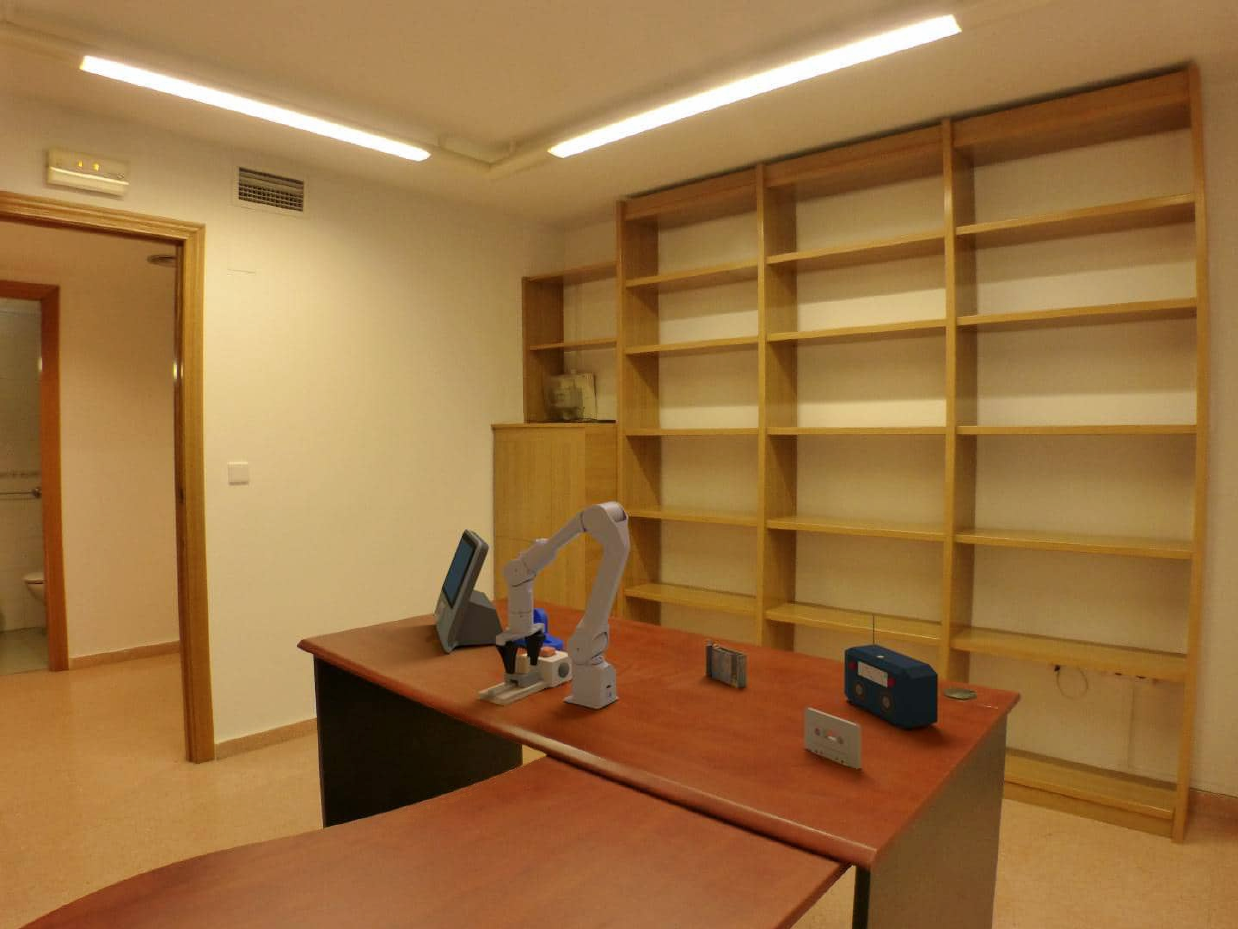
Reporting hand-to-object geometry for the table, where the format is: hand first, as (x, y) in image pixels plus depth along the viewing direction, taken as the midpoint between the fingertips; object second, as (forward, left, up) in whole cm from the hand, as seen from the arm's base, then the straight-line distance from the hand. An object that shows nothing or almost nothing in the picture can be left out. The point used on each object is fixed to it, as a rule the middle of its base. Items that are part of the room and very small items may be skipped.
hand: (521, 669), depth 179 cm
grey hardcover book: (-36, -32, -6) cm, 48 cm away
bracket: (+22, -31, -5) cm, 38 cm away
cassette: (-72, -3, -5) cm, 72 cm away
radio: (-74, -31, -5) cm, 80 cm away
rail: (0, +2, -3) cm, 4 cm away
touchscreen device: (+46, -27, -5) cm, 53 cm away
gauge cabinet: (0, -9, -5) cm, 10 cm away
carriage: (0, 0, -3) cm, 3 cm away
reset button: (0, -9, +1) cm, 9 cm away
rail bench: (0, +3, -5) cm, 5 cm away
